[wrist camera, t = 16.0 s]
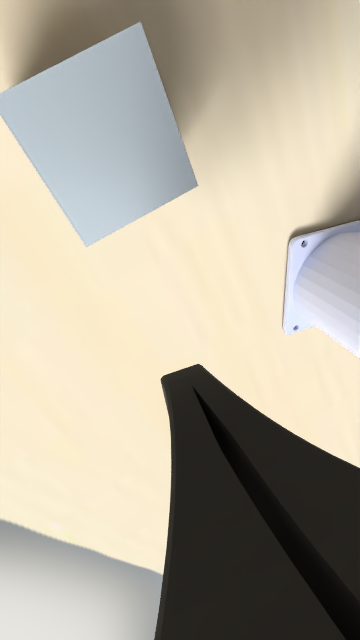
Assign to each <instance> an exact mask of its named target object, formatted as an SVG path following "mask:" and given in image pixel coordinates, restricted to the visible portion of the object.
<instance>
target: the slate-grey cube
mask: <svg viewBox="0 0 360 640" xmlns="http://www.w3.org/2000/svg"><path fill="white" fill-rule="evenodd" d="M0 115H1V117H2V118H3V120H4V122H5V123H6V125H7V126H8V128H9V129H10V131H11V132H12V134H13V135H14V137H15V138H16V140H17V141H18V143H19V145H20V146H21V148H22V149H23V151H24V152H25V154H26V155H27V157H28V158H29V160H30V161H31V163H32V164H33V166H34V168H35V169H36V171H37V172H38V174H39V175H40V177H41V178H42V180H43V181H44V183H45V184H46V186H47V188H48V189H49V191H50V192H51V194H52V195H53V197H54V198H55V200H56V201H57V203H58V204H59V206H60V207H61V209H62V211H63V212H64V214H65V215H66V217H67V218H68V220H69V221H70V223H71V224H72V226H73V227H74V229H75V231H76V232H77V234H78V235H79V237H80V238H81V240H82V241H83V243H84V244H85V246H86V247H88V246H89V245H91V244H93V243H95V242H97V241H99V240H100V239H102V238H104V237H106V236H108V235H109V234H111V233H113V232H115V231H117V230H119V229H120V228H122V227H124V226H126V225H128V224H129V223H131V222H133V221H135V220H137V219H139V218H140V217H142V216H144V215H146V214H148V213H149V212H151V211H153V210H155V209H157V208H159V207H160V206H162V205H164V204H166V203H168V202H170V201H171V200H173V199H175V198H177V197H179V196H180V195H182V194H184V193H186V192H188V191H190V190H191V189H193V188H195V187H197V186H198V184H197V181H196V178H195V175H194V172H193V169H192V166H191V164H190V161H189V158H188V155H187V152H186V149H185V146H184V144H183V141H182V138H181V135H180V132H179V129H178V127H177V124H176V121H175V118H174V115H173V112H172V109H171V107H170V104H169V101H168V98H167V95H166V92H165V89H164V87H163V84H162V81H161V78H160V75H159V72H158V69H157V67H156V64H155V61H154V58H153V55H152V52H151V50H150V47H149V44H148V41H147V38H146V35H145V32H144V30H143V27H142V24H141V21H140V22H138V23H136V24H134V25H132V26H130V27H128V28H127V29H125V30H123V31H121V32H119V33H117V34H115V35H113V36H111V37H109V38H107V39H105V40H103V41H101V42H99V43H97V44H95V45H93V46H91V47H89V48H88V49H86V50H84V51H82V52H80V53H78V54H76V55H74V56H72V57H70V58H68V59H66V60H64V61H62V62H60V63H58V64H56V65H54V66H52V67H51V68H49V69H47V70H45V71H43V72H41V73H39V74H37V75H35V76H33V77H31V78H29V79H27V80H25V81H23V82H21V83H19V84H17V85H15V86H13V87H12V88H10V89H8V90H6V91H4V92H2V93H0Z"/></svg>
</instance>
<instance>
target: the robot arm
mask: <svg viewBox="0 0 360 640" xmlns="http://www.w3.org/2000/svg"><path fill="white" fill-rule="evenodd" d="M303 241H304V243H303V245H301V244H302V242H303ZM294 326H295V327H294ZM313 326H316V327H317V328H318V329H320V330H321V331H323V332H324V333H325V334H327V335H328V336H329V337H331V338H332V339H333V340H335V341H336V342H338V343H339V344H340V345H342V346H343V347H344V348H346V349H347V350H348V351H350V352H351V353H353V354H354V355H355V356H357V357H358V358H359V359H360V220H358V221H354V222H350V223H346V224H343V225H339V226H335V227H331V228H327V229H324V230H320V231H316V232H312V233H308V234H305V235H301V236H297V237H294V238H293V239H292V240H291V241H290V243H289V248H288V262H287V276H286V290H285V303H284V317H283V332H284V333H285V334H287V335H289V334H292V333H295V332H298V331H301V330H304V329H307V328H310V327H313ZM161 384H162V388H163V392H164V397H165V401H166V405H167V410H168V414H169V419H170V430H171V498H170V513H169V527H168V538H167V549H166V557H165V566H164V574H163V582H162V591H161V598H160V606H159V613H158V620H157V626H156V632H155V639H154V640H360V468H358V467H356V466H354V465H352V464H350V463H348V462H346V461H344V460H342V459H340V458H338V457H335V456H333V455H331V454H330V453H328V452H326V451H324V450H322V449H320V448H318V447H316V446H315V445H313V444H311V443H309V442H307V441H306V440H304V439H302V438H300V437H299V436H297V435H295V434H293V433H292V432H290V431H289V430H287V429H285V428H284V427H282V426H281V425H279V424H277V423H276V422H274V421H273V420H271V419H270V418H268V417H267V416H265V415H264V414H262V413H261V412H259V411H258V410H257V409H255V408H254V407H252V406H251V405H250V404H248V403H247V402H246V401H244V400H243V399H242V398H240V397H239V396H237V395H236V394H235V393H234V392H232V391H231V390H230V389H228V388H227V387H226V386H225V385H224V384H222V383H221V382H220V381H219V380H218V379H216V378H215V377H214V376H213V375H212V374H211V373H209V372H208V371H207V370H206V369H205V368H204V367H203V366H202V365H200V364H196V365H193V366H191V367H188V368H185V369H182V370H179V371H176V372H173V373H170V374H167V375H164V376H163V377H162V378H161Z"/></svg>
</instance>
